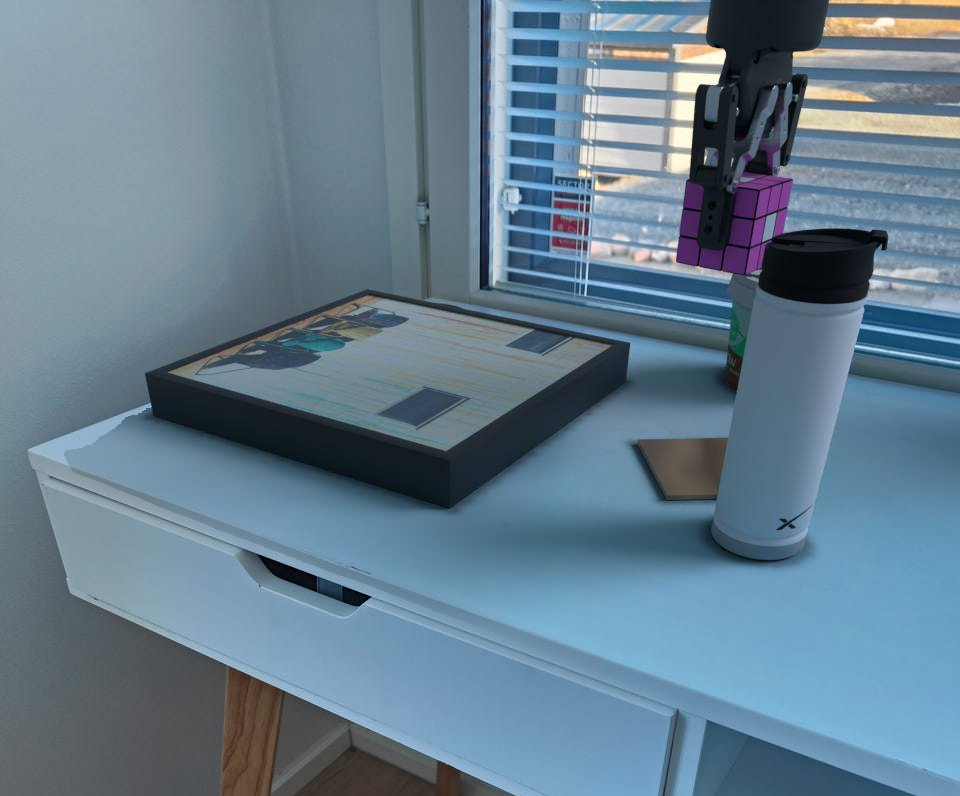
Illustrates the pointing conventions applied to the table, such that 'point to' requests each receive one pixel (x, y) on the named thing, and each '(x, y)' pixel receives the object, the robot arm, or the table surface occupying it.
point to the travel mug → (791, 386)
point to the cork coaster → (686, 466)
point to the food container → (739, 322)
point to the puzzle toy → (737, 224)
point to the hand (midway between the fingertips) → (730, 239)
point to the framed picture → (394, 390)
